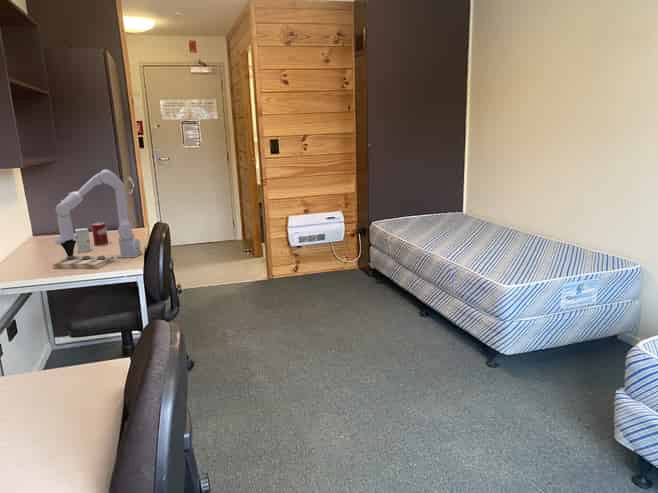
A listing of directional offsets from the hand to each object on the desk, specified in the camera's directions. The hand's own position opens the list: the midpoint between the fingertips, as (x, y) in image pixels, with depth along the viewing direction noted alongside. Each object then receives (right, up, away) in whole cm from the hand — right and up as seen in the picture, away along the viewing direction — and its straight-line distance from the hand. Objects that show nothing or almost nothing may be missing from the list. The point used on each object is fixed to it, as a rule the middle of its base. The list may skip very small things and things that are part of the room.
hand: (70, 255), depth 234 cm
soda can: (-3, +5, +39) cm, 39 cm away
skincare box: (-5, +2, +24) cm, 25 cm away
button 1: (0, -2, +1) cm, 2 cm away
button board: (+8, -4, -2) cm, 9 cm away
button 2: (+16, -2, -2) cm, 16 cm away
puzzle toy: (+12, +6, +38) cm, 41 cm away
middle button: (+8, -2, -1) cm, 8 cm away
